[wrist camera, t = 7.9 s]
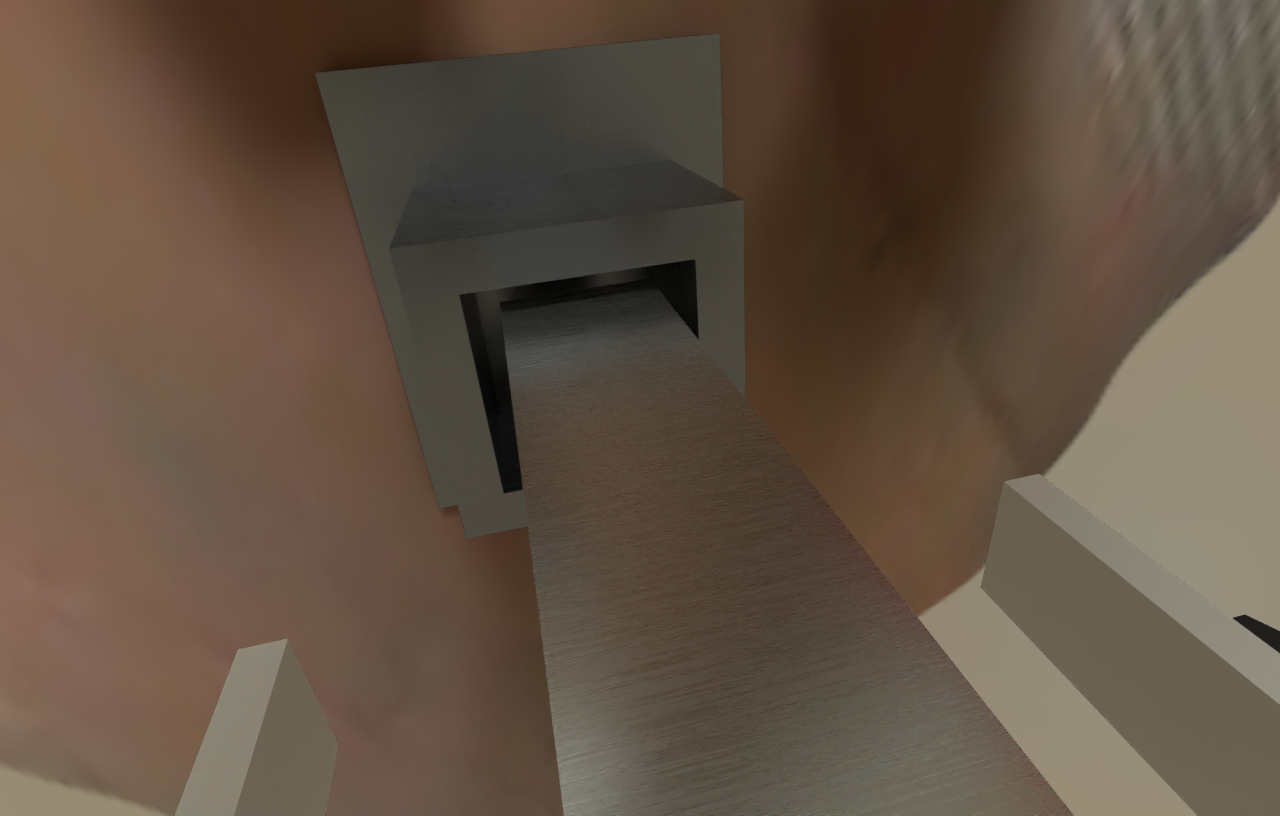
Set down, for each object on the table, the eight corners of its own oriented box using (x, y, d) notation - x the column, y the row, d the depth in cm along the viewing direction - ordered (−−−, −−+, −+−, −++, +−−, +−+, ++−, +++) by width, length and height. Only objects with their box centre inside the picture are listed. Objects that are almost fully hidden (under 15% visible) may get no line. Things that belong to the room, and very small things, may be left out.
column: (483, 291, 21) (550, 1279, 4) (661, 264, 21) (1310, 992, 5) (516, 448, 23) (633, 1415, 7) (672, 419, 24) (1109, 1215, 8)
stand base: (320, 72, 23) (232, 86, 14) (711, 34, 25) (837, 27, 17) (439, 496, 32) (429, 662, 23) (722, 441, 34) (809, 574, 25)
